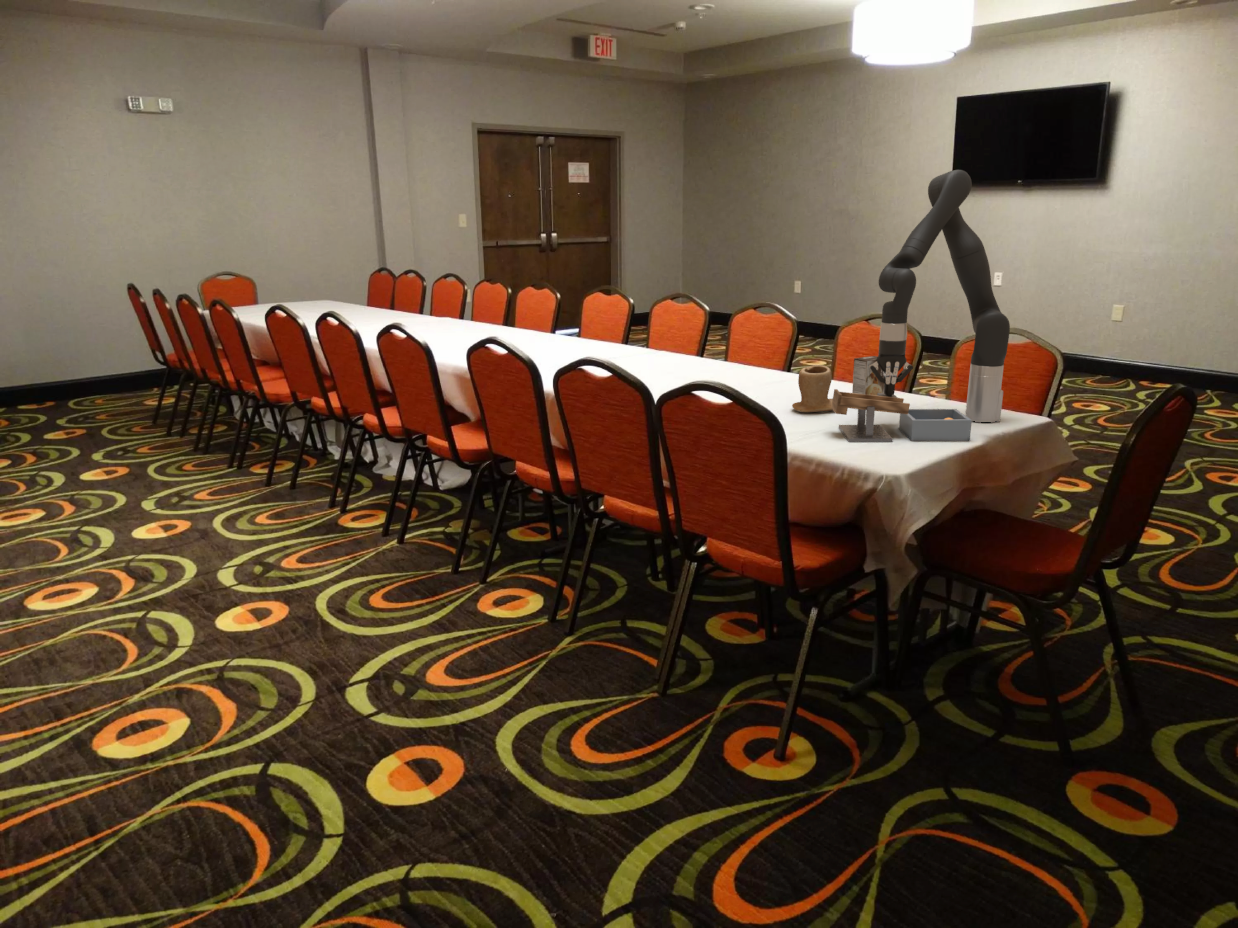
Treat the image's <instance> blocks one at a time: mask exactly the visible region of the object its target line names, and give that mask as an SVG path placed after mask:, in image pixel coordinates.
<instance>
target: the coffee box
mask: <svg viewBox="0 0 1238 928" xmlns="http://www.w3.org/2000/svg"><path fill="white" fill-rule="evenodd" d="M877 357H878V355H871V356H863V357H855V358H853V372H852V373H853V374H852V392H851V393H857V394H866V395H876V396H877V393H884V383H883V382H880V381H879V380H878V379H877V378H876V376H875V375H874V373H873V372H872V371H871V369H870V368H869V365H870V364H873V363H875V362H876V359H877ZM877 371H878V372H879V374H880V375H881V376H882V377H883V378H884V374H883V371H882V369H881V368H880V366H879V365H878V370H877Z"/></svg>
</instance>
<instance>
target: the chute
mask: <svg viewBox="0 0 1238 928" xmlns="http://www.w3.org/2000/svg"><path fill="white" fill-rule="evenodd" d="M833 390H834V391H833V396H832V399H833V401H832V406H831V408H832V409H833V410H832V411H833V412H834V413H835V415H836V414H837V415H842V416H843V415H847V414H848V409H855V410H858V409H861V410H866V409H867V406H874V407H875V412H881V413H892V414H899V415H900V414H908V412H909V409H910V406H911V404H910V403H909V402H904V400H905V399H904V398H902V397H897V395H895V394H894V395H892V397H887V396H886V395H885V394H884V393H877V396H876V395H866V394H857V393H852V392H846V391H839V390H838V389H836V388H834V389H833Z"/></svg>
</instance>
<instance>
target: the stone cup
mask: <svg viewBox="0 0 1238 928" xmlns="http://www.w3.org/2000/svg"><path fill="white" fill-rule="evenodd" d="M832 379H833V376H832V370H831V368H829V366H826V365H823V364H822V365H820V364H814V365H813V364H812V365H809V366H807V367H806V366H805V367H803V368H801V369H800V371H799V373H798V379H797V380H798V382H797V383H798V388H799V392H800V396H801V400H800V401H796V402H794V403H792V405H791V407H792V408H793V410H795V411H797V412H801V413H816V412H817V413H818V412H828V411H833V409H832V408H831V406H832V401H833V398H829V396H828V395H829V393H830V392H829V391H830V387H831V384H832Z"/></svg>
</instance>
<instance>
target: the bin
mask: <svg viewBox="0 0 1238 928" xmlns="http://www.w3.org/2000/svg"><path fill="white" fill-rule="evenodd" d="M965 415H966V414H965V413H964V414H963V413H962V412H961V411H960V410H959V409H957V408H909V412H908V414H900V413H899V421H898V429H899V430H900V432H902V434H903V435H905V436H906V437H907V439H909V440H910V442H969V441H968V440H970V441H971V431H972V422H973V421H972V420H971V419H969V418H968V417H967V416H965ZM945 418H952V419H945Z"/></svg>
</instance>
